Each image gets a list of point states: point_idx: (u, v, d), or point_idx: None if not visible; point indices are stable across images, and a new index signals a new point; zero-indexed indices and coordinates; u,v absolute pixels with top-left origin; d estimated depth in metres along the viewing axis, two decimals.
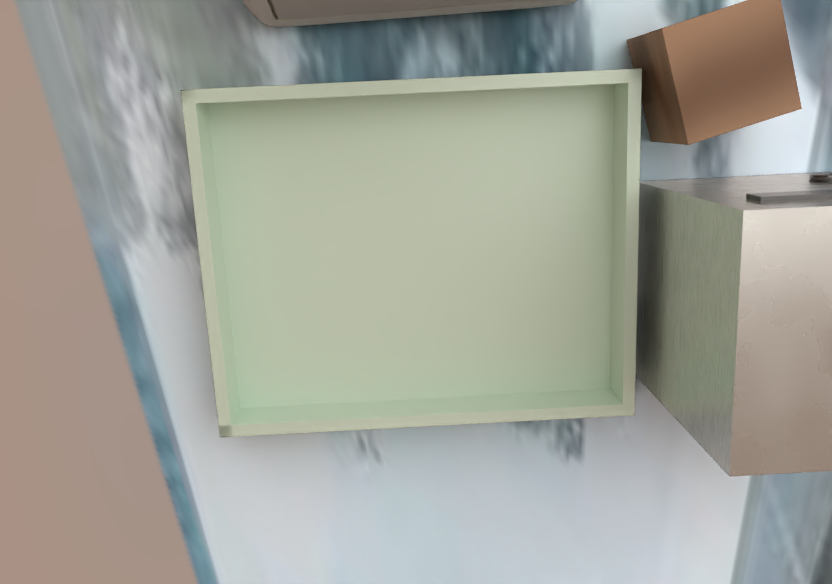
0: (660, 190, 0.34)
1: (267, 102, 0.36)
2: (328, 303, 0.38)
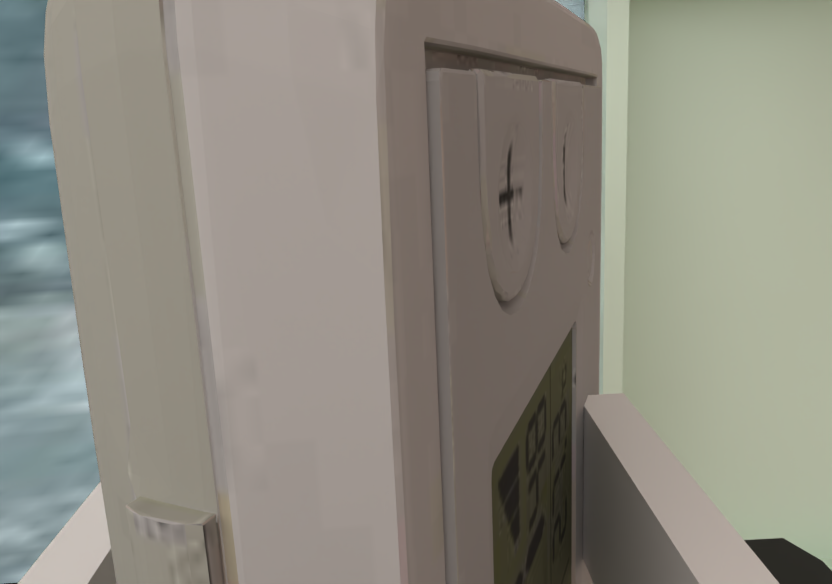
0: None
1: None
2: None
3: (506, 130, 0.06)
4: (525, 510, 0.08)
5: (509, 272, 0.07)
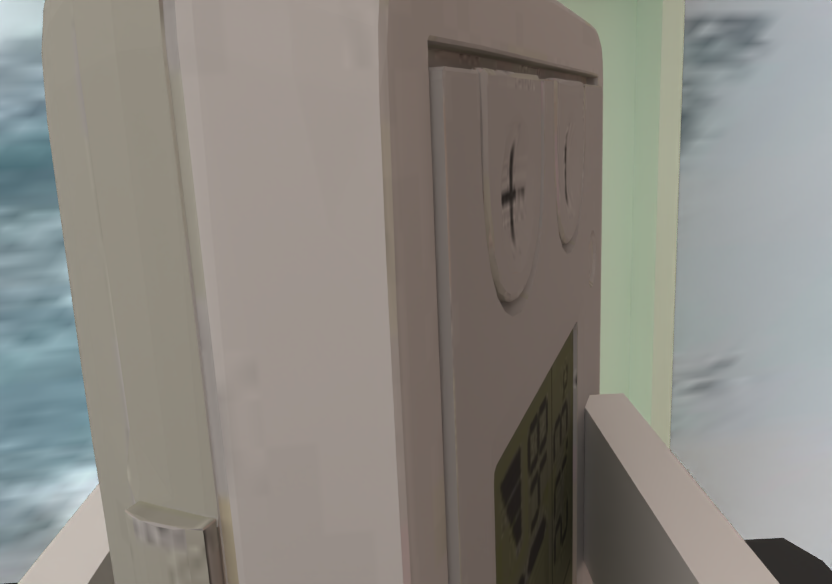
0: None
1: None
2: None
3: (508, 129, 0.06)
4: (527, 512, 0.08)
5: (511, 273, 0.07)
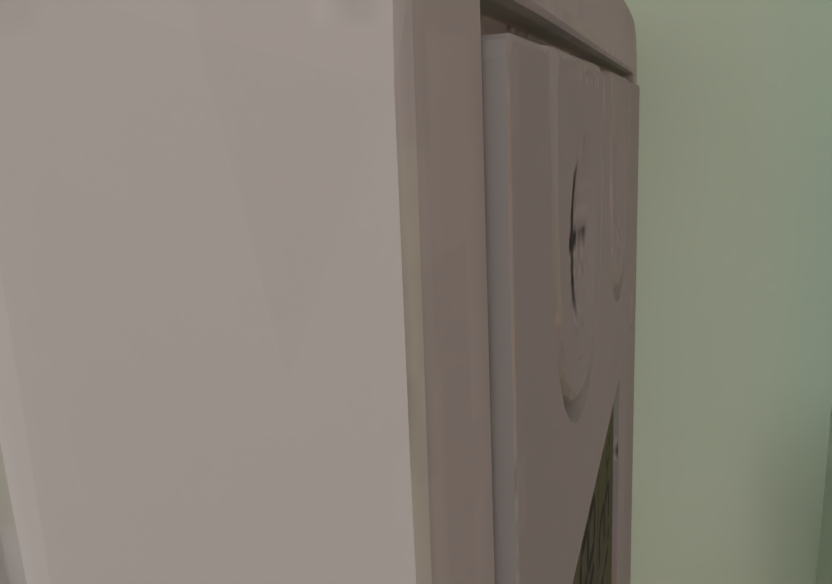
0: None
1: None
2: None
3: (576, 145, 0.04)
4: None
5: (577, 360, 0.04)
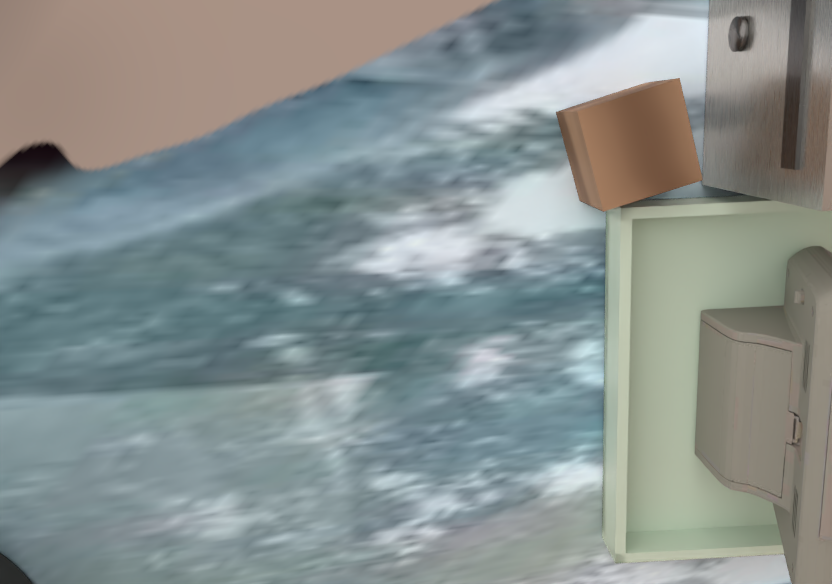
0: (733, 191, 0.38)
1: None
2: None
3: None
4: None
5: None
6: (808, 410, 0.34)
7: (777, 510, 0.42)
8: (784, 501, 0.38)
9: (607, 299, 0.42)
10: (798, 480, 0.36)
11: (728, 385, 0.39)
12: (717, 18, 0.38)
